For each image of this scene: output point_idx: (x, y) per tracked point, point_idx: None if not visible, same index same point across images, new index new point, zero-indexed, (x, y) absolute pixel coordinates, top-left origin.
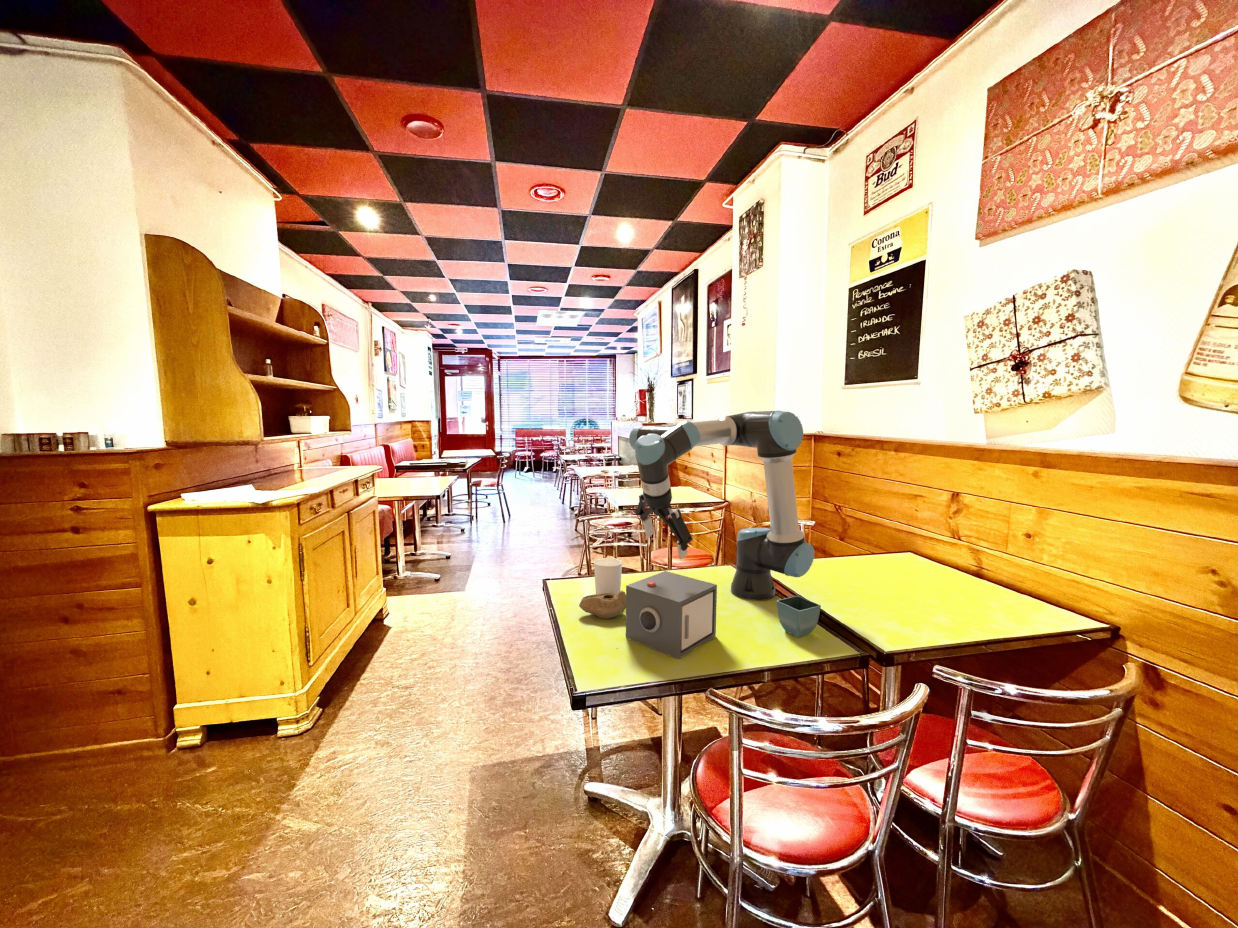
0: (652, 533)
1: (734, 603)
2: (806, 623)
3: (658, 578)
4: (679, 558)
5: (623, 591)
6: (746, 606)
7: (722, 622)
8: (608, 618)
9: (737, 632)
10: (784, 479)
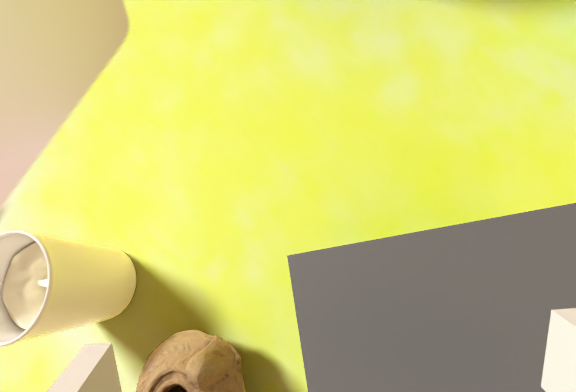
0: (109, 367)
1: (365, 23)
2: None
3: (358, 377)
4: (547, 387)
5: (198, 370)
6: (402, 8)
7: (449, 141)
8: None
9: (534, 154)
10: None
